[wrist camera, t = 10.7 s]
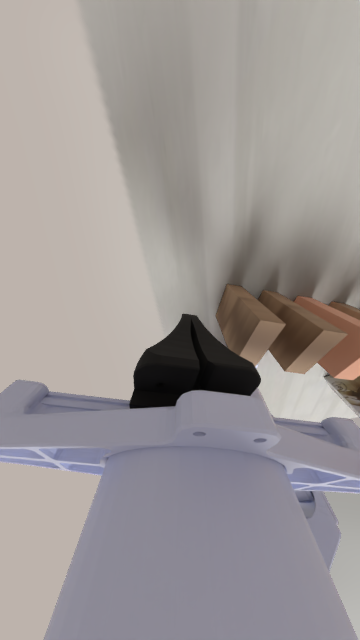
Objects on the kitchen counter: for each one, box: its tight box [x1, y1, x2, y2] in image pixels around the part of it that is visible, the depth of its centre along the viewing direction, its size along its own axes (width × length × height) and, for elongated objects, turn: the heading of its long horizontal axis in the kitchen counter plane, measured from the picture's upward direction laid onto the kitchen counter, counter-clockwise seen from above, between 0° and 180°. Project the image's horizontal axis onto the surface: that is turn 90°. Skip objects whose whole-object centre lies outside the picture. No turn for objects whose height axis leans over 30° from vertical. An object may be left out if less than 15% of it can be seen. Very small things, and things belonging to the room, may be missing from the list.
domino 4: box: [329, 302, 360, 320], centre depth 15 cm, size 5×2×9 cm, turn 171°
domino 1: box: [216, 284, 286, 366], centre depth 15 cm, size 5×2×9 cm, turn 171°
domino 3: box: [294, 296, 360, 380], centre depth 15 cm, size 5×2×9 cm, turn 172°
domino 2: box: [258, 290, 348, 374], centre depth 15 cm, size 5×2×9 cm, turn 171°
